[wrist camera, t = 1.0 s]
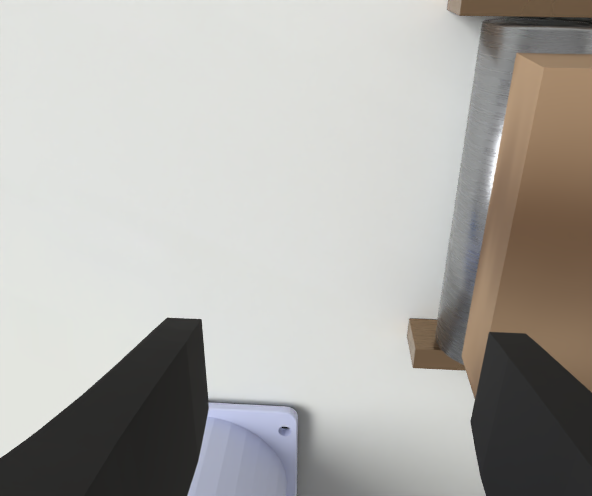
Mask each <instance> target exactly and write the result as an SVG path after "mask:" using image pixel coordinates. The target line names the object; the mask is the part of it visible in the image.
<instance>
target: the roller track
mask: <svg viewBox="0 0 592 496" xmlns="http://www.w3.org/2000/svg"><path fill="white" fill-rule="evenodd" d="M447 10H449V11H451V12H453V13H455V14H457V15H459V16H521V17H588V18H592V0H448V5H447ZM516 53H550V54H592V23H588V22H579V21H568V20H554V19H526V18H510V19H491V20H485V21H483V22H482V27H481V34H480V41H479V47H478V54H477V61H476V67H475V74H474V81H473V87H472V94H471V101H470V107H469V114H468V120H467V127H466V134H465V140H464V147H463V154H462V160H461V167H460V174H459V180H458V187H457V194H456V200H455V207H454V214H453V220H452V227H451V233H450V240H449V247H448V253H447V260H446V267H445V273H444V280H443V287H442V293H441V300H440V307H439V313H438V320H431V319H409V324H408V333H407V339H408V344H409V350H410V355H411V360H412V366H413V368H425V369H446V370H466V369H465V366H464V363H463V359H462V351H463V346H464V340H465V335H466V329H467V324H468V318H469V312H470V307H471V301H472V296H473V290H474V285H475V279H476V274H477V268H478V263H479V257H480V252H481V246H482V241H483V235H484V229H485V224H486V218H487V213H488V207H489V202H490V196H491V191H492V185H493V180H494V174H495V169H496V163H497V157H498V152H499V146H500V141H501V135H502V130H503V124H504V119H505V113H506V108H507V102H508V97H509V91H510V85H511V80H512V74H513V69H514V63H515V58H516Z"/></svg>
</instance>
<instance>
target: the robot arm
mask: <svg viewBox="0 0 592 496" xmlns="http://www.w3.org/2000/svg"><path fill="white" fill-rule="evenodd" d="M282 427H288V428H289V429H284V428H282ZM471 427H472V433H473V439H474V444H475V450H476V455H477V461H478V466H479V471H480V476H481V480H482V483H483V486H484V490H485V493H486V496H592V392H591V391H590V390H588V389H587V388H586V387H585V386H584V385H583V384H582V383H581V382H580V381H578V380H577V379H576V378H575V377H574V376H573V375H572V374H571V373H570V372H569V371H567V370H566V369H565V368H564V367H563V366H562V365H561V364H560V363H559V362H558V361H556V360H555V359H554V358H553V357H552V356H551V355H550V354H549V353H548V352H547V351H545V350H544V349H543V348H542V347H541V346H540V345H539V344H538V343H536V342H535V341H534V340H533V339H532V338H531V337H529V336H528V335H527V334H526V333H505V332H489V334H488V339H487V344H486V349H485V354H484V359H483V363H482V368H481V373H480V378H479V383H478V388H477V393H476V398H475V403H474V408H473V413H472V417H471ZM297 448H298V415H297V412H296V411H295V410H294V409H292V408H290V407H286V406H267V405H247V404H228V403H208V392H207V380H206V368H205V356H204V344H203V332H202V320H201V319H184V318H167V319H165V320H164V321H163V322H162V323H161V324H160V325H159V326H158V327H156V328H155V329H154V330H153V331H152V332H151V333H150V334H149V335H148V336H147V337H146V338H144V339H143V340H142V341H141V342H140V343H139V344H138V345H137V346H136V347H135V348H134V349H133V350H132V351H131V352H129V353H128V354H127V355H126V356H125V357H124V358H123V359H122V360H121V361H120V362H119V363H118V364H116V365H115V366H114V367H113V368H112V369H111V370H110V371H109V372H108V373H106V374H105V375H104V376H103V377H102V378H101V379H100V380H99V381H97V382H96V383H95V384H94V385H93V386H92V387H91V388H90V389H88V390H87V391H86V392H85V393H84V394H83V395H81V396H80V397H79V398H78V399H77V400H75V401H74V402H73V403H72V404H71V405H69V406H68V407H67V408H66V409H64V410H63V411H62V412H61V413H59V414H58V415H57V416H56V417H54V418H53V419H52V420H51V421H50V422H48V423H47V424H46V425H45V426H43V427H42V428H41V429H40V430H38V431H37V432H36V433H34V434H33V435H32V436H30V437H29V438H28V439H26V440H25V441H24V442H22V443H21V444H20V445H18V446H17V447H15V448H14V449H13V450H11V451H10V452H9V453H7V454H6V455H4V456H3V457H1V458H0V496H297Z"/></svg>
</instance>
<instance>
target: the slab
mask: <svg viewBox="0 0 592 496" xmlns="http://www.w3.org/2000/svg"><path fill="white" fill-rule="evenodd" d="M489 332H505V333H526V334H527V335H528V336H529V337H531V338H532V339H533V340H534V341H535V342H536V343H538V344H539V345H540V346H541V347H542V348H543V349H544V350H545V351H547V352H548V353H549V354H550V355H551V356H552V357H553V358H554V359H555V360H556V361H558V362H559V363H560V364H561V365H562V366H563V367H564V368H565V369H566V370H567V371H569V372H570V373H571V374H572V375H573V376H574V377H575V378H576V379H577V380H578V381H580V382H581V383H582V384H583V385H584V386H585V387H586V388H587V389H588V390H590V391H591V392H592V54H550V53H516V58H515V63H514V69H513V74H512V80H511V85H510V91H509V97H508V102H507V108H506V113H505V119H504V124H503V130H502V135H501V141H500V146H499V152H498V157H497V163H496V169H495V174H494V180H493V185H492V191H491V196H490V202H489V207H488V213H487V218H486V224H485V229H484V235H483V241H482V246H481V252H480V257H479V263H478V268H477V274H476V279H475V285H474V290H473V296H472V301H471V307H470V312H469V318H468V324H467V329H466V335H465V340H464V346H463V351H462V359H463V363H464V366H465V369H466V372H467V375H468V378H469V382H470V385H471V388H472V391H473V394H474V398H476V393H477V388H478V383H479V378H480V373H481V368H482V363H483V359H484V354H485V349H486V344H487V339H488V334H489Z"/></svg>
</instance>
